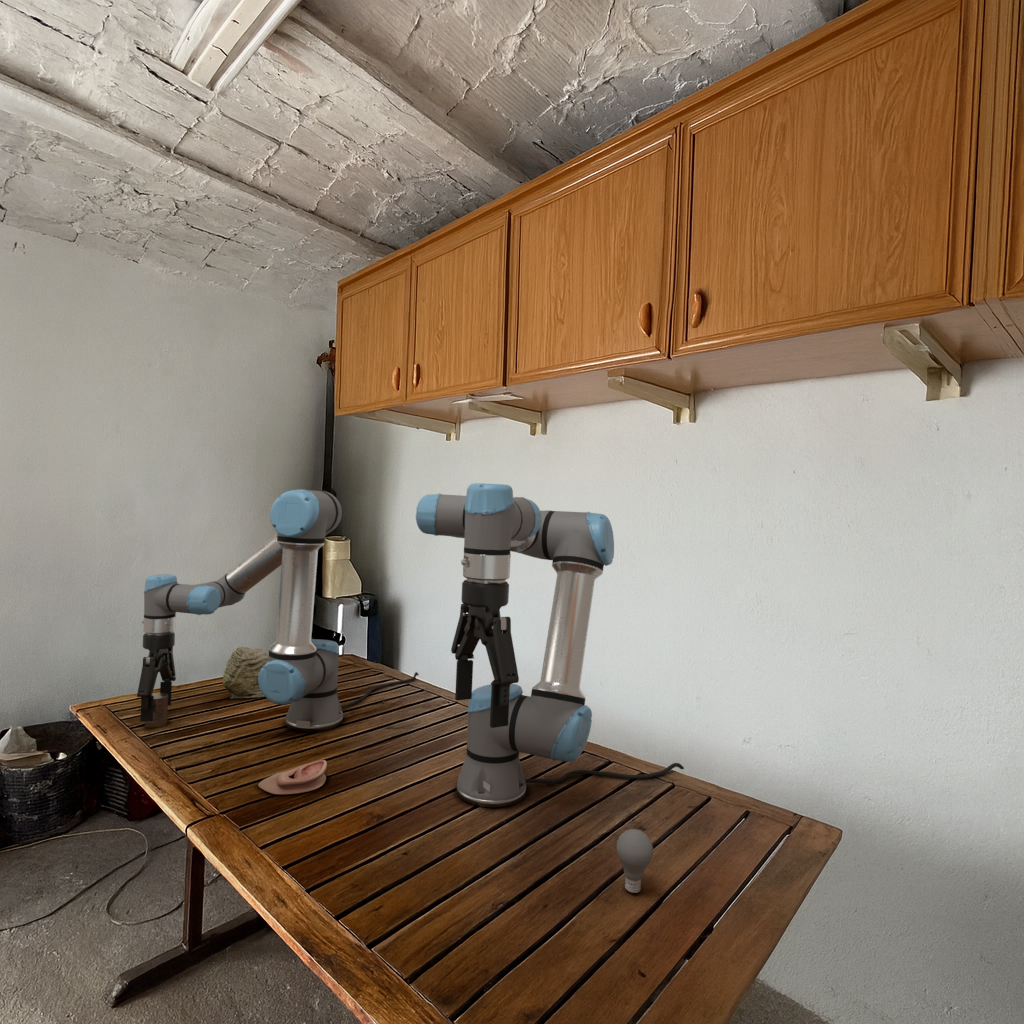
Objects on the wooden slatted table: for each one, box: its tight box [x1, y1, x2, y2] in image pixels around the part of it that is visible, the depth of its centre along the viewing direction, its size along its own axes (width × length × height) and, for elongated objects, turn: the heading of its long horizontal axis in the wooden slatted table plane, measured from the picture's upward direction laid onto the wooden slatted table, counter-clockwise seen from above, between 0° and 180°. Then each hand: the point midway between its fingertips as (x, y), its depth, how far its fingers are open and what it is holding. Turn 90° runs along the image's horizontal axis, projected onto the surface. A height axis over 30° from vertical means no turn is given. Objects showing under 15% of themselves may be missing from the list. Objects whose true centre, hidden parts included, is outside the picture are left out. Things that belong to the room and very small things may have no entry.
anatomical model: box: [257, 759, 328, 795], centre depth 139 cm, size 13×4×12 cm
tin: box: [144, 692, 169, 729], centre depth 170 cm, size 5×5×8 cm
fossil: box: [222, 646, 269, 699], centre depth 198 cm, size 9×18×15 cm, turn 132°
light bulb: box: [615, 828, 654, 894], centre depth 106 cm, size 6×6×10 cm
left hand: (156, 712), depth 170 cm, fingers open, 12 cm apart
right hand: (480, 712), depth 102 cm, fingers open, 13 cm apart
